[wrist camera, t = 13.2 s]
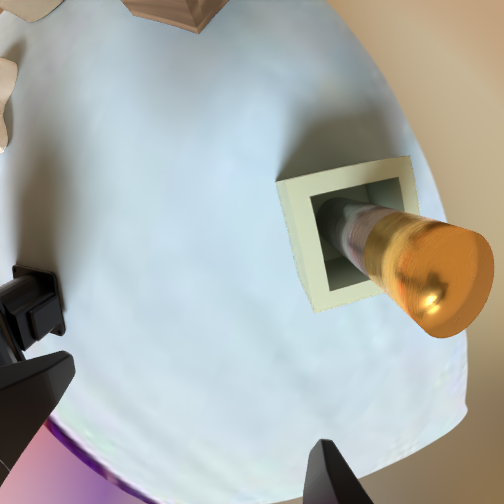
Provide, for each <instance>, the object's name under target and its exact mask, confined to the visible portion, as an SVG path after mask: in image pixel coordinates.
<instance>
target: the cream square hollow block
mask: <svg viewBox="0 0 504 504" xmlns="http://www.w3.org/2000/svg"><path fill="white" fill-rule="evenodd" d="M275 184H276V187H277V191H278V195H279V199H280V203H281V207H282V211H283V215H284V219H285V223H286V227H287V231H288V235H289V239H290V243H291V247H292V252H293V256H294V260H295V264H296V269H297V273H298V277H299V279H300V282H301V284H302V286H303V288H304V291H305V293H306V295H307V297H308V299H309V302H310V304H311V306H312V308H313V311H314V313H318V312H321V311H325V310H328V309H332V308H335V307H339V306H342V305H346V304H349V303H352V302H356V301H359V300H362V299H365V298H368V297H372V296H375V295H378V294H381V293H384V291H383V290H381V289H380V288H379V287H378V286H377V285H376V284H375V283H374V282H373V281H372V280H370V279H369V278H368V277H367V276H366V275H365V274H364V273H363V272H362V271H360V270H359V269H358V268H357V267H356V266H355V265H354V264H353V263H351V262H350V261H349V260H348V259H347V258H346V257H345V256H343V255H342V254H341V253H340V252H339V251H338V250H336V249H335V248H334V247H333V246H332V245H331V244H329V243H328V242H327V241H326V240H325V239H324V238H322V236H321V235H320V234H319V232H318V230H317V226H316V215H317V212H318V210H319V208H320V206H321V205H322V204H323V203H324V202H325V201H327V200H328V199H330V198H334V197H343V198H348V199H353V200H358V201H362V202H367V203H371V204H375V205H380V206H384V207H388V208H392V209H396V210H400V211H404V212H408V213H412V214H415V215H419V216H420V210H419V203H418V196H417V190H416V185H415V179H414V174H413V169H412V164H411V160H410V155H409V156H402V157H395V158H388V159H381V160H375V161H368V162H363V163H358V164H353V165H348V166H343V167H338V168H333V169H328V170H324V171H319V172H315V173H310V174H306V175H302V176H297V177H293V178H289V179H285V180H281V181H277V182H275Z"/></svg>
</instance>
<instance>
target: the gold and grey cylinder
mask: <svg viewBox="0 0 504 504" xmlns="http://www.w3.org/2000/svg"><path fill="white" fill-rule="evenodd" d="M316 226H317V230H318V232H319V234H320V235H321V236H322V238H324V239H325V240H326V241H327V242H328V243H329V244H331V245H332V246H333V247H334V248H335V249H336V250H338V251H339V252H340V253H341V254H342V255H343V256H345V257H346V258H347V259H348V260H349V261H350V262H351V263H353V264H354V265H355V266H356V267H357V268H358V269H359V270H360V271H362V272H363V273H364V274H365V275H366V276H367V277H368V278H369V279H370V280H372V281H373V282H374V283H375V284H376V285H377V286H378V287H379V288H380V289H381V290H383V291H384V292H385V293H386V294H387V295H388V296H389V297H390V298H391V299H392V300H393V301H394V302H395V303H396V304H398V305H399V306H400V307H401V308H402V309H403V310H404V311H405V312H406V313H407V314H408V315H409V316H410V317H411V318H412V319H413V320H414V321H415V322H416V323H417V324H418V325H419V326H420V327H421V328H422V329H423V330H424V331H425V332H426V333H428V334H429V335H430V336H433V337H435V338H448V337H451V336H454V335H456V334H458V333H460V332H461V331H463V330H464V329H465V328H467V327H468V326H469V325H470V324H471V323H472V322H473V321H474V319H475V318H476V317H477V316H478V315H479V313H480V312H481V310H482V308H483V307H484V305H485V303H486V301H487V299H488V296H489V293H490V290H491V287H492V283H493V277H494V259H493V253H492V250H491V247H490V245H489V243H488V242H487V240H486V239H485V238H484V237H483V236H482V235H480V234H479V233H476V232H473V231H470V230H467V229H464V228H461V227H457V226H454V225H451V224H448V223H444V222H441V221H437V220H434V219H430V218H427V217H423V216H419V215H415V214H412V213H408V212H404V211H400V210H396V209H392V208H388V207H384V206H380V205H375V204H371V203H367V202H362V201H358V200H353V199H348V198H343V197H334V198H330V199H328V200H327V201H325V202H324V203H323V204H322V205H321V206H320V208H319V210H318V212H317V215H316Z"/></svg>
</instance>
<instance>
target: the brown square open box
mask: <svg viewBox="0 0 504 504" xmlns="http://www.w3.org/2000/svg"><path fill="white" fill-rule="evenodd" d="M121 1H122V2H123V3H124V5H125V6H126V7H127V8H128V9H129V11H130V12H131V13H132V14H133V15H134V16H138V17H143V18H147V19H151V20H155V21H158V22H162V23H166V24H169V25H172V26H176V27H179V28H182V29H185V30H188V31H191V32H194V33H197V34H199V33H200V32H201V31H202V30H203V29H204V28H205V26H206V25H207V24H208V23H209V22H210V21H211V19H212V18H213V17H214V16H215V15H216V14H217V13H218V12H219V11H220V9H221V8H222V7H223V6H224V5H225V4H226V3H227V2H228V1H229V0H121Z"/></svg>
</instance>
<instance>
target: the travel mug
mask: <svg viewBox="0 0 504 504" xmlns="http://www.w3.org/2000/svg"><path fill="white" fill-rule="evenodd" d="M62 1H63V0H0V8H2V9H4V10H6V11H8V12H10V13H12V14H14V15H16V16H18V17H20V18H22V19H23V20H25V21H27V22H35V21H37V20H39V19H41V18H43V17H44V16H46V15H47V14H49V13H50V12H51V11H52V10H54V9H55V8H56V7H57V6H58V5H59V4H60V3H61V2H62Z"/></svg>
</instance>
